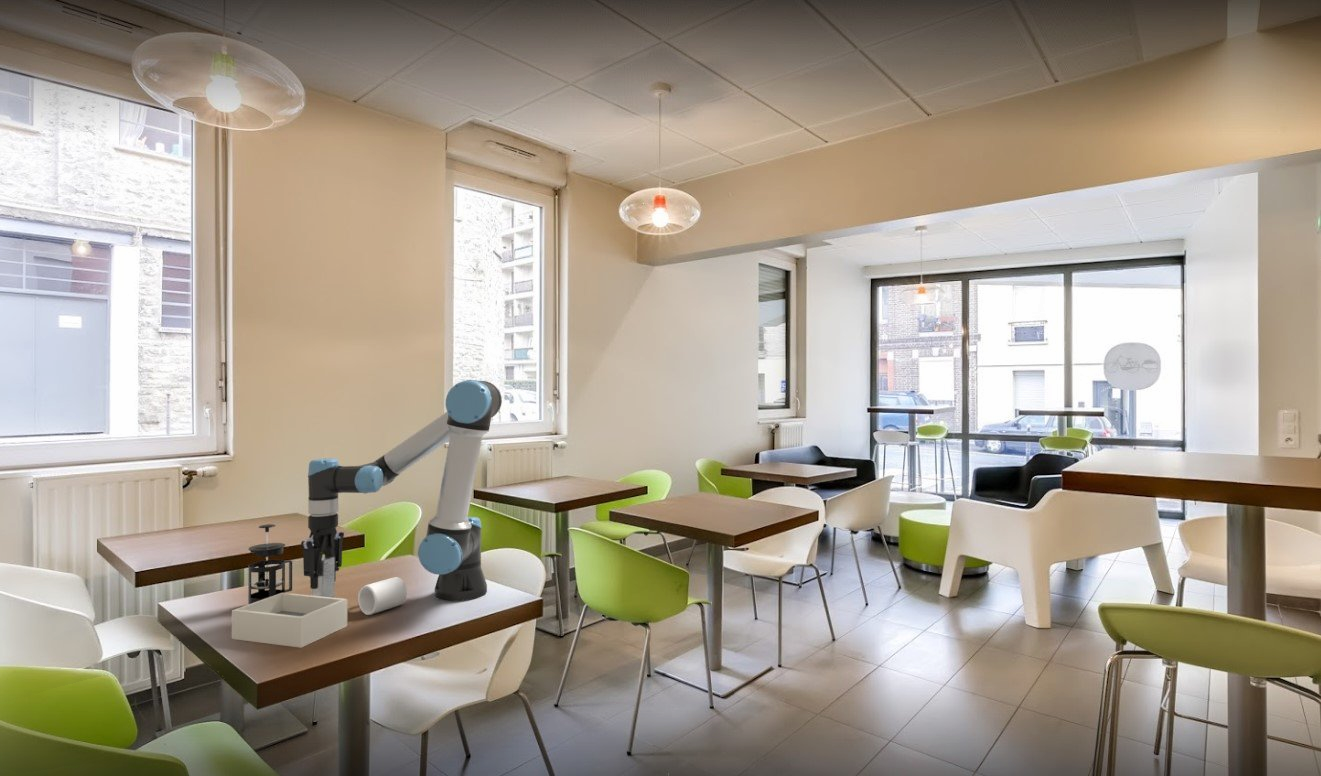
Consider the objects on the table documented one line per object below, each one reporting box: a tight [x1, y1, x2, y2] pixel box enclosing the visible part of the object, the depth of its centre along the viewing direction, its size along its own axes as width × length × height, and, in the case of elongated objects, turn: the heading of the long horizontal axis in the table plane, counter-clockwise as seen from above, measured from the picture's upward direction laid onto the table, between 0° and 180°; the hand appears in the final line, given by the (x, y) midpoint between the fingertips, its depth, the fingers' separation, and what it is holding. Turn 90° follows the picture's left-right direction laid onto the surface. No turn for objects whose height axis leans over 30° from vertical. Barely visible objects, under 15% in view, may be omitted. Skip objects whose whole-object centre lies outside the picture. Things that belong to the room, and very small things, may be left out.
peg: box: [314, 555, 335, 598], centre depth 184 cm, size 4×4×14 cm
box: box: [231, 592, 348, 649], centre depth 165 cm, size 21×15×7 cm
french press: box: [247, 523, 293, 605], centre depth 187 cm, size 12×9×23 cm
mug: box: [357, 576, 408, 616], centre depth 184 cm, size 12×10×8 cm
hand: (323, 596), depth 184 cm, fingers closed on peg, 4 cm apart
